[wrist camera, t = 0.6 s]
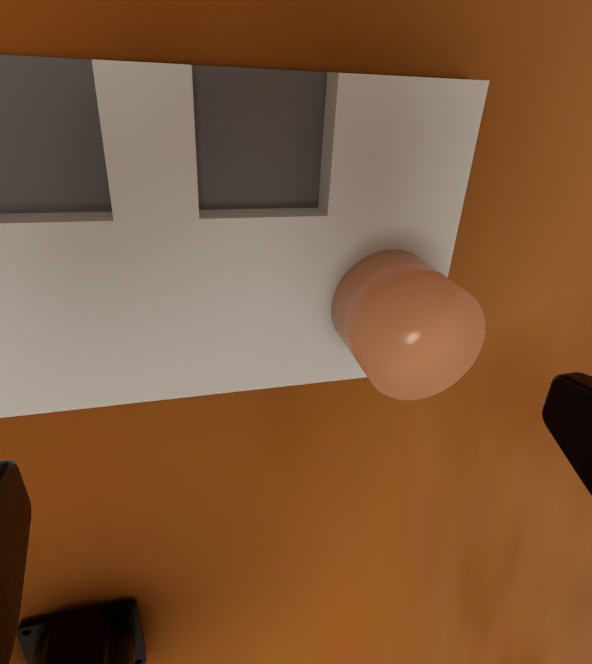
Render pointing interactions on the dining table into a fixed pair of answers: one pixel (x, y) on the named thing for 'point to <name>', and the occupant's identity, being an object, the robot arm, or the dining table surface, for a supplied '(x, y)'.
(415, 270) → the pink short cylinder
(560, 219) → the dining table surface
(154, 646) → the dining table surface
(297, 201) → the deck
